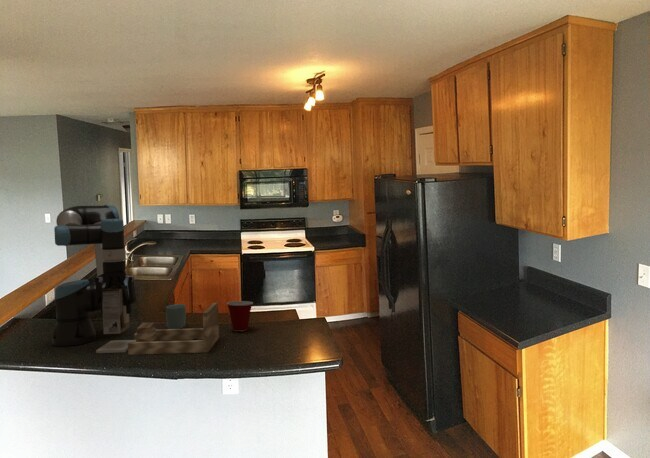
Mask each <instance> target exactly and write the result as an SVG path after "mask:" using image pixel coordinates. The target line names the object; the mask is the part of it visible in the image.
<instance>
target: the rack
mask: <svg viewBox="0 0 650 458" xmlns="http://www.w3.org/2000/svg"><path fill="white" fill-rule="evenodd" d="M202 324H203V325H202V327H199V328H198V327H197V328H196V327H195V328H194V327H193V328H192V327H191V328H182V329H169V328H167V329H165V328H164V329H156V337H157V338H158V341H154V342H129V343H128V350H127V355H129V356H132V355H134V356H136V355H160V354H161V355H162V354H166V355H167V354H168V355H169V354H192V353H193V354H194V353H197V354H198V353H199V354H200V353H209V352H210V351H211V350H212V348H213V347H214V345H215V344H216V342H217V341H218V340H219V339H220V330H219V329H220V328H219V327H220V326H219V324H220V323H219V302H213V303H211V304H210V306H209V307H207V309H205V310H204V311H203V312H202ZM193 339H197V340H193Z"/></svg>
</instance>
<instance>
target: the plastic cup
mask: <svg viewBox="0 0 650 458" xmlns="http://www.w3.org/2000/svg"><path fill="white" fill-rule="evenodd" d="M253 304H254V302H253V301H247V300H245V301H244V300H236V301H235V300H234V301H228V302H226V305H227V307H228V310H229V316H230V321H231V326H232V329H234V330H245V329H247V328H248V329H249V323H250V318H251V317H250V316H251V310H252V306H253ZM248 329H247V330H248ZM234 330H233V331H234Z"/></svg>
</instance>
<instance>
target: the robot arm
mask: <svg viewBox="0 0 650 458" xmlns="http://www.w3.org/2000/svg"><path fill="white" fill-rule="evenodd" d="M55 220H56V225H55V226H54V228H53V229H54V231H53V232H54V244H55V246H58V247H60V246H63V247H68V246H83V245H84V246H85V245H93V249H94V259H95V266H96V277H94V279H93V282H90V281H89V279H79V280H78V279H77V280H72V281H68V282H65V283H62V284H61V283H60V284H59V285H58V286H56V287H55V290H54V293H55V294H54V300H55V319H56V321H55V323H56V324H55V327H54V331H53V334H52V336H51V345H52V346H56V347H69V346H77V345H83V344H86V343H90V342H93V341H94V340H96V339H97V332H96V330H95V327H94V325H93V322H92V320H91V313H95V312H100V313H101V315H102V316H103V308H102V290H103V289H105V288H110V287H112V286H118V288H122V289H123V300H124V302H125V305H124V306H123V310H124V323H127V322H129V323H130V314H131V313H132V304H134V303H136V302H137V298H136V291H135V290H136V289H135V282H134V281H135V276H134V275H128V274H127V273H126V261H125V259H126V254H125V253H126V252H125V251H126V250H125V224H124V219H121V218H120V214H119V210H118V208H117V207H116V206H115V205H107V204H103V205H74V206H70V207H68V208H65V209H64V210H62V211H60V212H59V213H58V215H57V217H56V219H55ZM125 286H128V293H127V290H126V288H125Z"/></svg>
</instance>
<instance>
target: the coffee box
mask: <svg viewBox="0 0 650 458" xmlns="http://www.w3.org/2000/svg"><path fill="white" fill-rule="evenodd" d="M125 288H126V290H127V293H128V286H125ZM124 305H125V302H124V300H123V289H122V288H118V286H112V287H110V288H105V289H103V290H102V308H103V315H102V326H103V328H102V329H103V335H113V334H115V335H116V334H122V333H123V332H125V331H126V330H127V329H128V328H130V321H129V322H127V323H124V310H123V306H124Z"/></svg>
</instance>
